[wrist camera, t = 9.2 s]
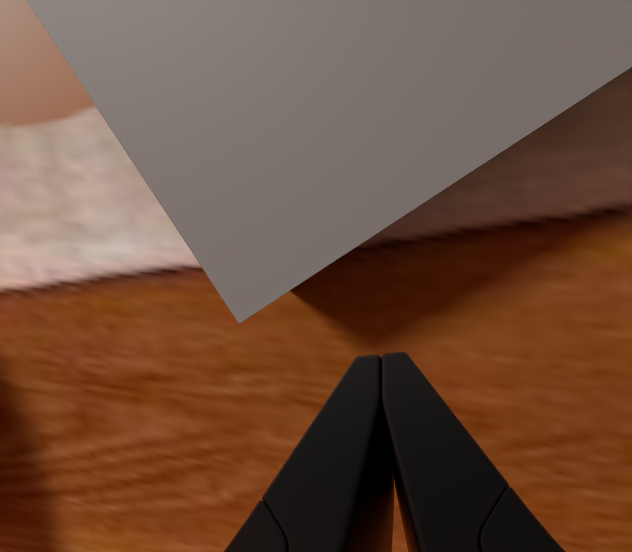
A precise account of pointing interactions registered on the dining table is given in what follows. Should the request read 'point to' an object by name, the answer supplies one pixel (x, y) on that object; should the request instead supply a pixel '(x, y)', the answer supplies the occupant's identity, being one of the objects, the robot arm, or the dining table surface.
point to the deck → (322, 110)
